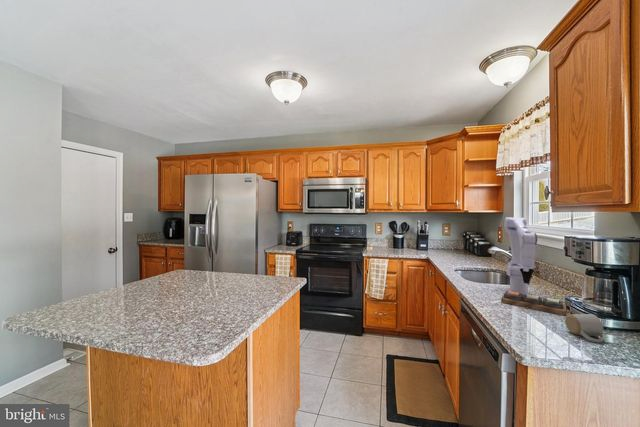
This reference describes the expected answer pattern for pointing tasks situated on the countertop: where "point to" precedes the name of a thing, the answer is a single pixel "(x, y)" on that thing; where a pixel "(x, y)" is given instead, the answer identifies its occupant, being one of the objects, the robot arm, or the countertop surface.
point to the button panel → (534, 303)
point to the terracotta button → (514, 293)
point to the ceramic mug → (585, 326)
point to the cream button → (532, 296)
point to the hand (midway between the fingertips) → (526, 283)
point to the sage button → (552, 300)
